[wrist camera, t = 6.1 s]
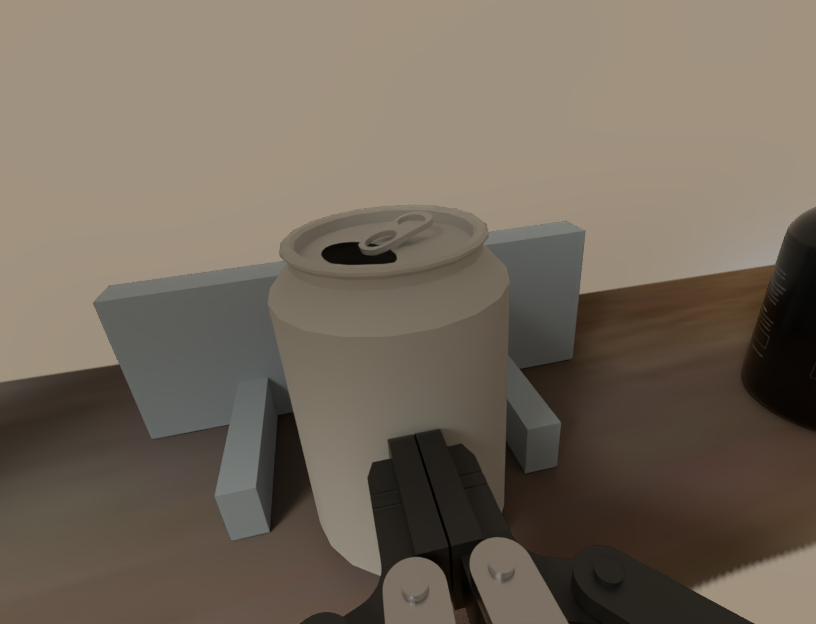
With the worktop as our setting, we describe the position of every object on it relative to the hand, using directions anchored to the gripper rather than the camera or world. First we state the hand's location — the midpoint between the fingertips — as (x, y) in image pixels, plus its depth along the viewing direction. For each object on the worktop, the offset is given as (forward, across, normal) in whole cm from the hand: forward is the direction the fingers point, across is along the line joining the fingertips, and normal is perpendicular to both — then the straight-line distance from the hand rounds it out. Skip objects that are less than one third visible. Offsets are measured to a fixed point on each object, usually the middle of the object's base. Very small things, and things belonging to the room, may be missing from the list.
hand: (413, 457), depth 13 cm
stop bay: (+10, 0, +6) cm, 11 cm away
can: (+4, 0, +6) cm, 7 cm away
